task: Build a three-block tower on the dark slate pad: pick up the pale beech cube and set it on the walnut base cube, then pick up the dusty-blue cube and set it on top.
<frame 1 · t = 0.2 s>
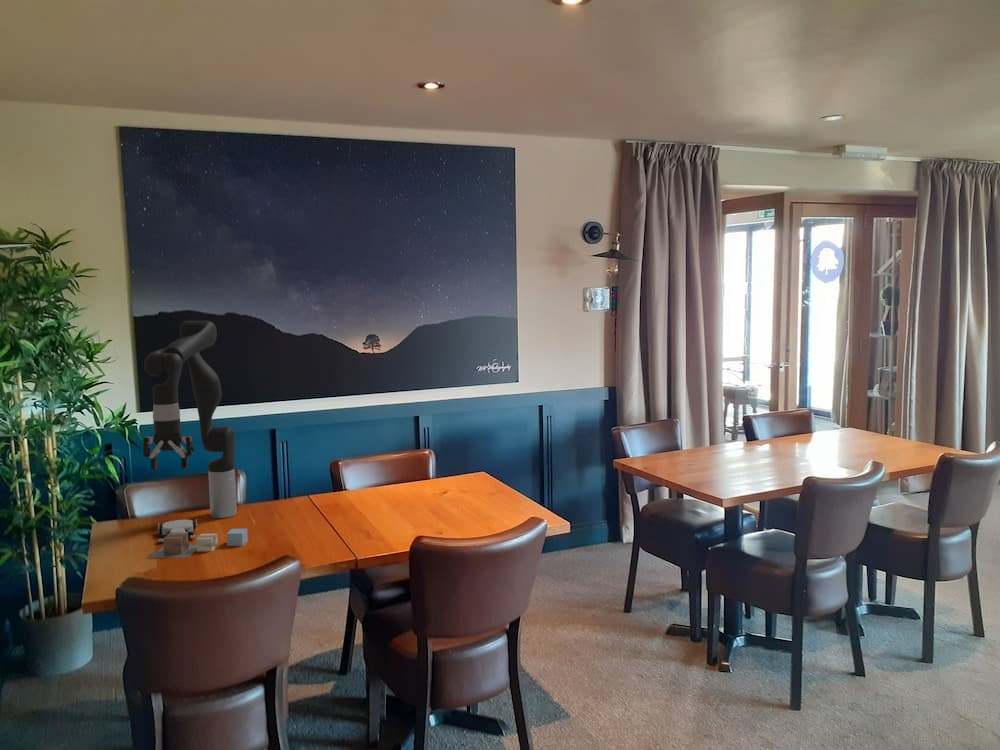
hand: (169, 469, 231), 28 cm above the table, tool pointing down, fingers open, 8 cm apart
robot toy: (178, 539, 252), on the table
slate pad: (176, 553, 238), on the table
beech block: (207, 551, 240), on the table
walnut block: (176, 550, 237), point 1 cm above the table, touching slate pad
blue block: (237, 545, 245), on the table
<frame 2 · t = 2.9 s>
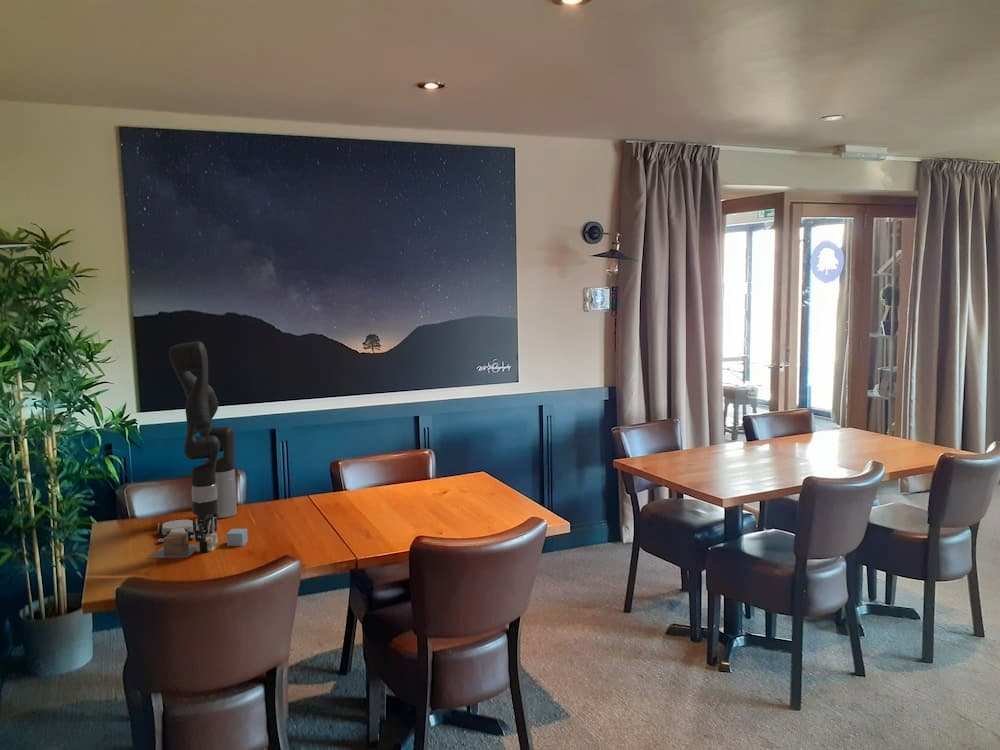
hand: (207, 549, 239), 0 cm above the table, tool pointing down, fingers closed on beech block, 5 cm apart
beech block: (207, 551, 240), on the table, touching gripper
everything else where it was.
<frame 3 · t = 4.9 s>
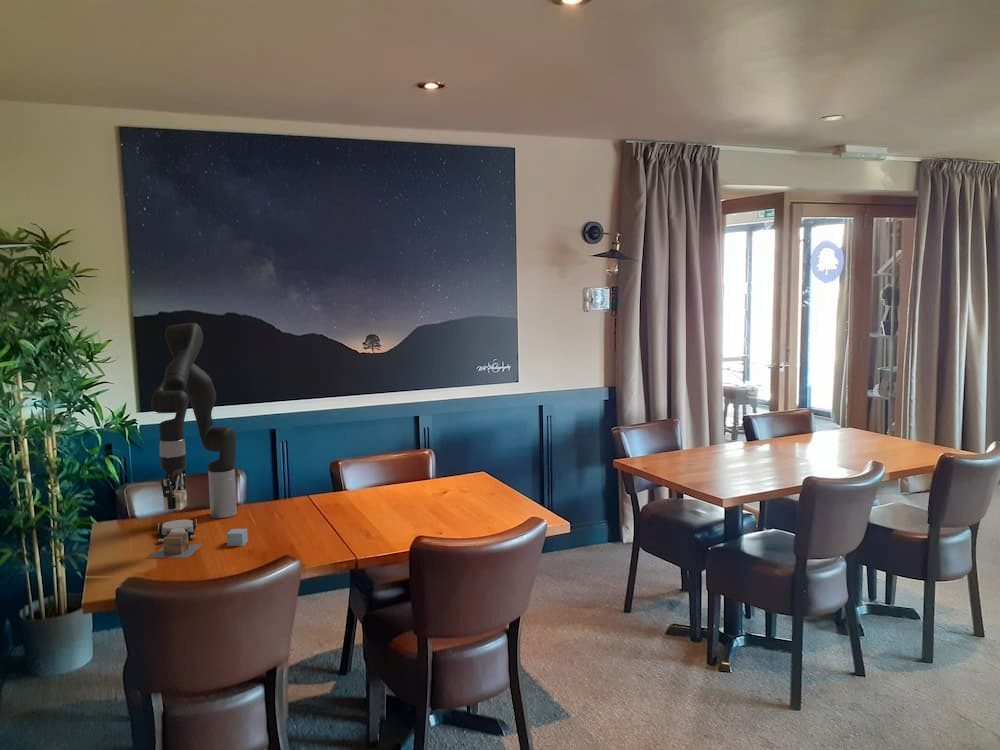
hand: (175, 506, 236), 15 cm above the table, tool pointing down, fingers closed on beech block, 5 cm apart
beech block: (175, 507, 236), point 15 cm above the table, touching gripper
everything else where it was.
when the fingers open (7 cm above the table, at t = 7.2 s): beech block drops 1 cm, resting on walnut block.
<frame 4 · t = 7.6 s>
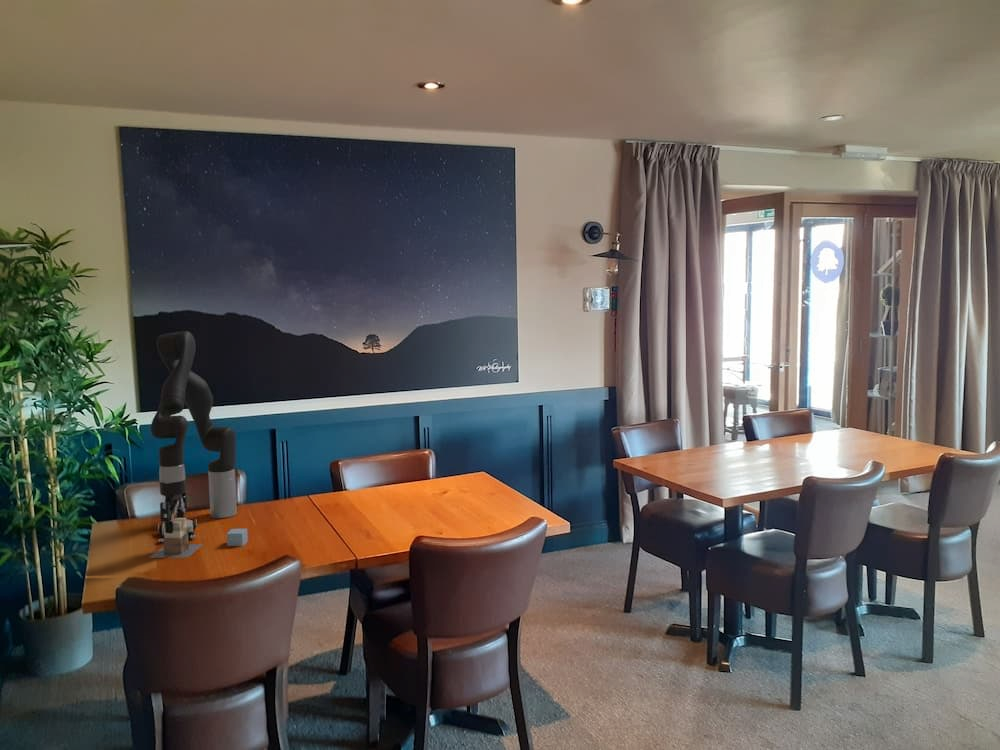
hand: (175, 528, 237), 8 cm above the table, tool pointing down, fingers open, 8 cm apart
beech block: (175, 535, 237), point 6 cm above the table, touching walnut block
walnut block: (176, 550, 237), point 1 cm above the table, touching beech block, slate pad
everything else where it was.
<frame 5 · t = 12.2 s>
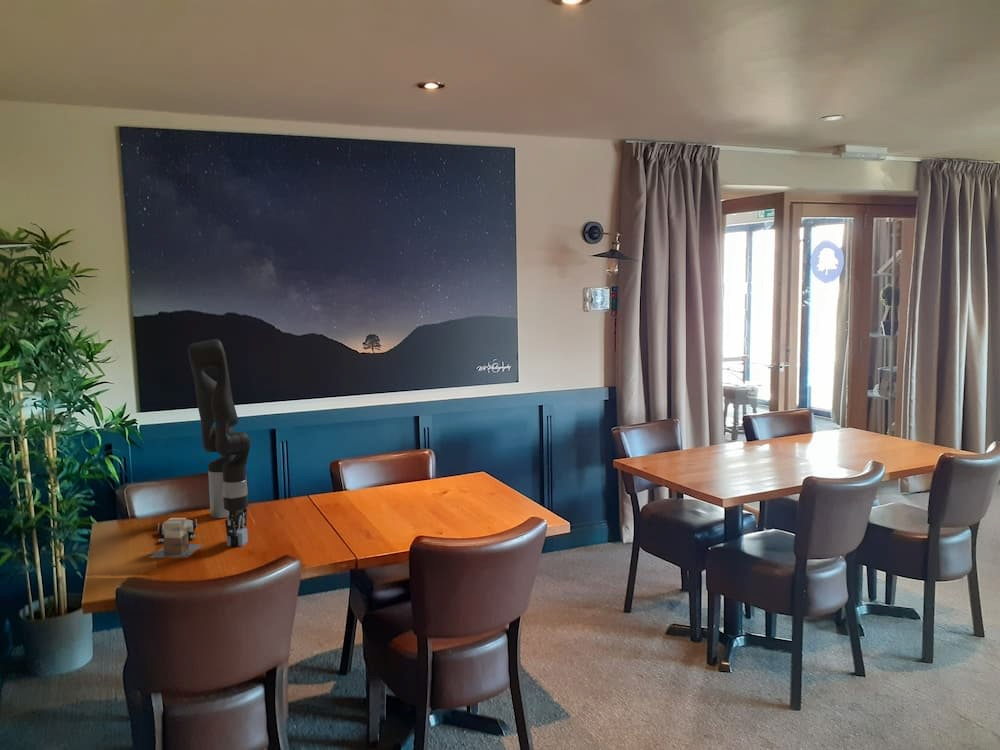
hand: (237, 544, 244), 0 cm above the table, tool pointing down, fingers closed on blue block, 5 cm apart
blue block: (237, 545, 245), on the table, touching gripper
everything else where it was.
when the fingers open (12 cm above the table, at t = 17.8 s): blue block drops 1 cm, resting on beech block.
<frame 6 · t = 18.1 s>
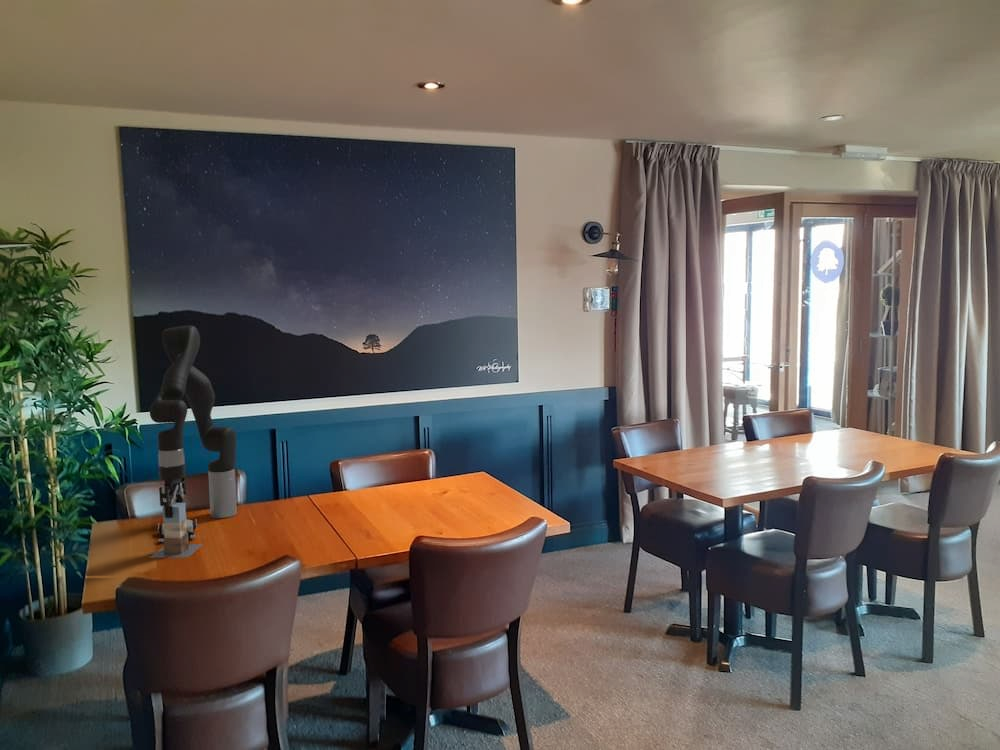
hand: (174, 513, 236), 13 cm above the table, tool pointing down, fingers open, 7 cm apart
beech block: (175, 535, 237), point 6 cm above the table, touching blue block, walnut block
blue block: (174, 520, 236), point 11 cm above the table, touching beech block
everything else where it was.
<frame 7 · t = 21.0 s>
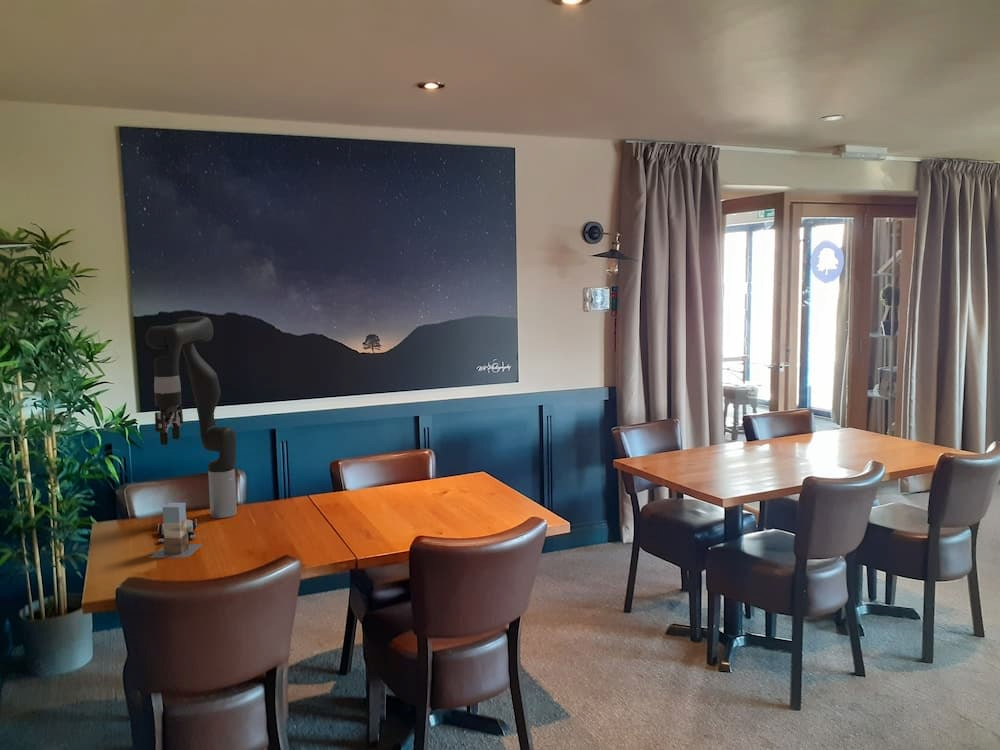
hand: (170, 441, 234), 36 cm above the table, tool pointing down, fingers open, 8 cm apart
nothing on the table moved.
at the end: beech block 0.1 cm off-centre on the walnut block, point 5.0 cm above the walnut block's base; blue block 0.0 cm off-centre on the walnut block, point 10.0 cm above the walnut block's base; blue block tilted 0° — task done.
